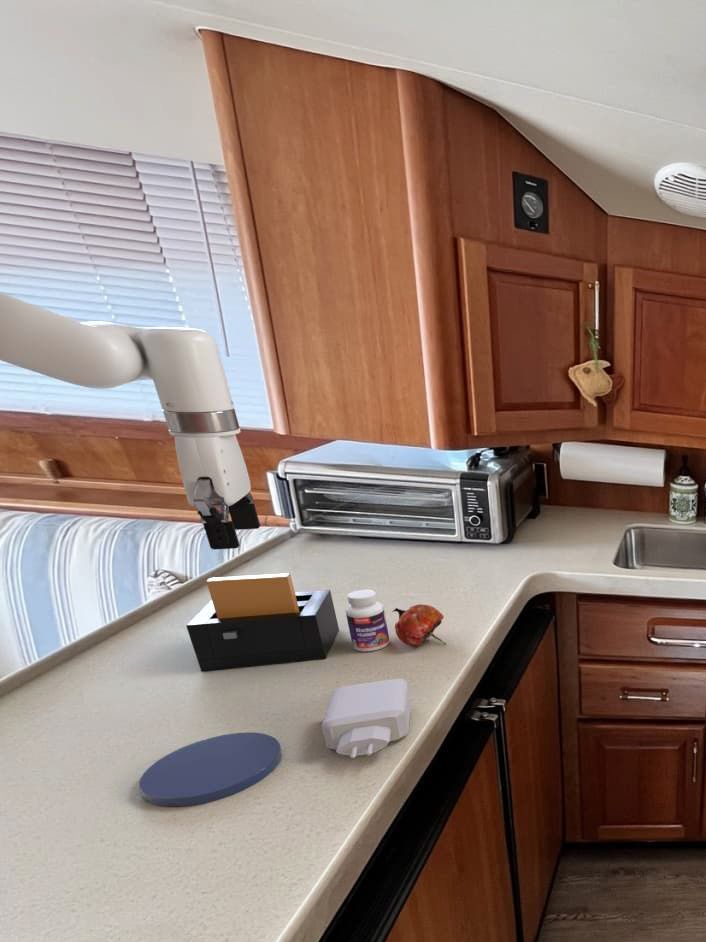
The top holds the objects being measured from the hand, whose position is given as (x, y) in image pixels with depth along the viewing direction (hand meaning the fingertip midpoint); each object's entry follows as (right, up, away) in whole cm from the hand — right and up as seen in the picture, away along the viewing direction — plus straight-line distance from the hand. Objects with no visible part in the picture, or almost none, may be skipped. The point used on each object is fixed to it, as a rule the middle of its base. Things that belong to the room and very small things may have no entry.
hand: (237, 538), depth 96 cm
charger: (+27, -29, -9) cm, 40 cm away
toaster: (-2, -18, +10) cm, 21 cm away
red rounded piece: (+19, -17, +16) cm, 30 cm away
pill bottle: (+11, -18, +14) cm, 25 cm away
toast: (-1, -17, +7) cm, 18 cm away
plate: (+13, -31, -18) cm, 38 cm away
